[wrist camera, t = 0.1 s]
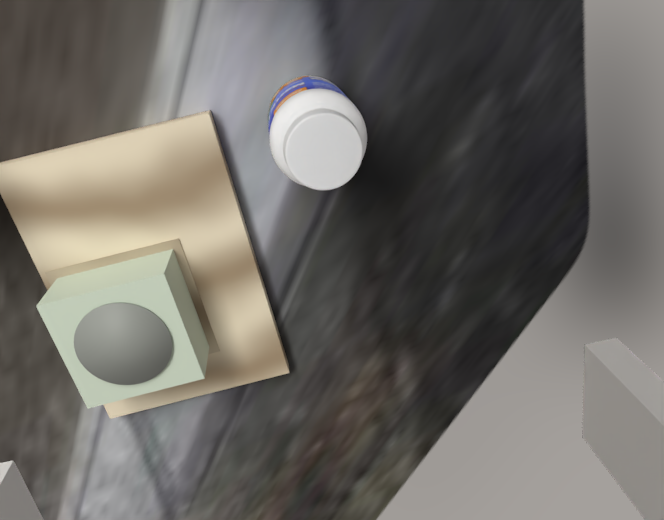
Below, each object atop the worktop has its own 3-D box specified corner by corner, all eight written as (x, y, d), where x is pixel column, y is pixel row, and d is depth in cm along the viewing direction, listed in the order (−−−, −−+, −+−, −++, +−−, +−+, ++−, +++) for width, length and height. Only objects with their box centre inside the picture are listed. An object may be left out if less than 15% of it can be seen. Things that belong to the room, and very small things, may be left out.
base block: (57, 278, 39) (34, 307, 35) (173, 248, 39) (163, 275, 35) (102, 373, 42) (86, 410, 38) (209, 346, 42) (204, 380, 38)
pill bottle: (287, 59, 36) (296, 76, 27) (363, 97, 38) (395, 124, 29) (254, 139, 38) (252, 178, 29) (328, 171, 39) (347, 218, 30)
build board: (-4, 163, 37) (-13, 168, 35) (210, 110, 37) (208, 113, 36) (113, 408, 45) (109, 419, 44) (288, 364, 45) (289, 373, 44)
